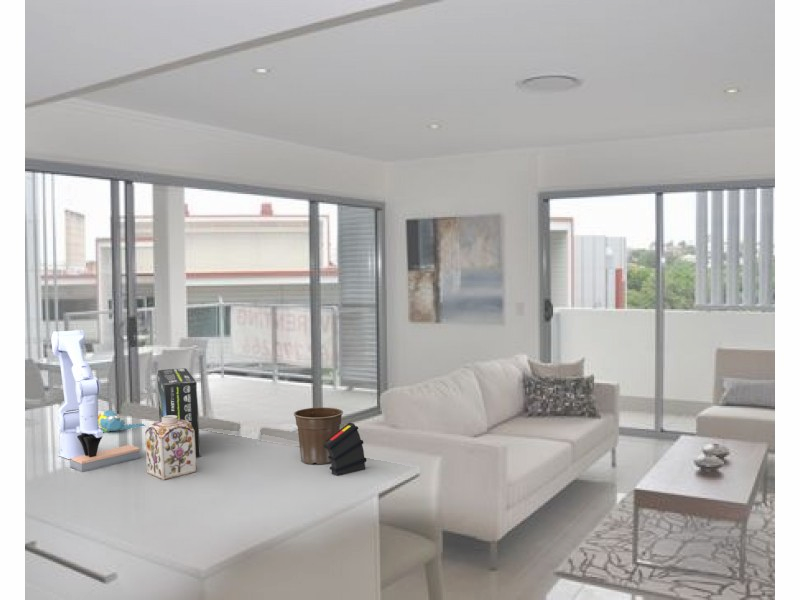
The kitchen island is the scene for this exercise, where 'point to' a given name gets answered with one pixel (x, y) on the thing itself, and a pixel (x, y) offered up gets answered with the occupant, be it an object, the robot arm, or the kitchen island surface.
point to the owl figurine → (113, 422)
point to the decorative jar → (170, 448)
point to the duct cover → (106, 454)
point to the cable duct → (104, 461)
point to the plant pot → (316, 432)
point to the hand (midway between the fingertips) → (90, 456)
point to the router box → (179, 398)
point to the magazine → (346, 450)
